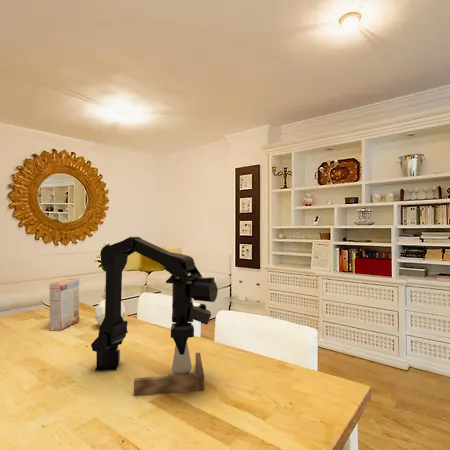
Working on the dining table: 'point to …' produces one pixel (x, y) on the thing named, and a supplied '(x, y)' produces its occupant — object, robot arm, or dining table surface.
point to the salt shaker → (181, 362)
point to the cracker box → (64, 303)
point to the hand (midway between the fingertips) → (181, 352)
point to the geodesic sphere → (101, 312)
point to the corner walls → (171, 382)
